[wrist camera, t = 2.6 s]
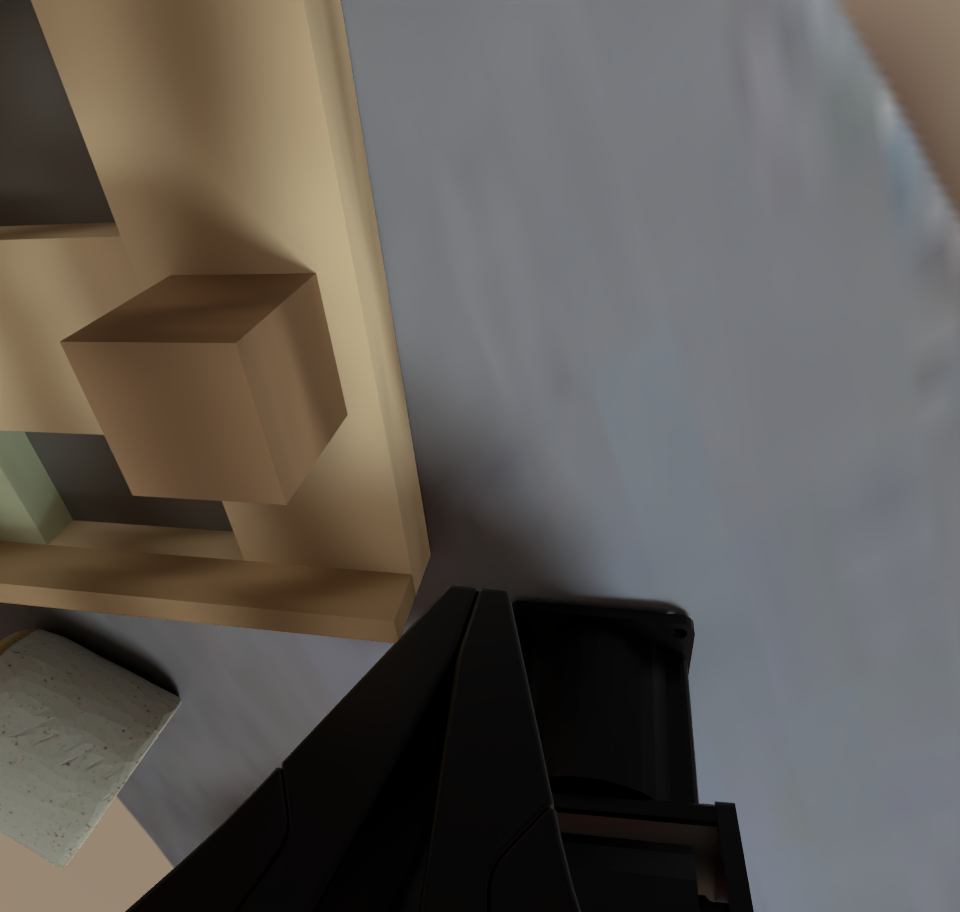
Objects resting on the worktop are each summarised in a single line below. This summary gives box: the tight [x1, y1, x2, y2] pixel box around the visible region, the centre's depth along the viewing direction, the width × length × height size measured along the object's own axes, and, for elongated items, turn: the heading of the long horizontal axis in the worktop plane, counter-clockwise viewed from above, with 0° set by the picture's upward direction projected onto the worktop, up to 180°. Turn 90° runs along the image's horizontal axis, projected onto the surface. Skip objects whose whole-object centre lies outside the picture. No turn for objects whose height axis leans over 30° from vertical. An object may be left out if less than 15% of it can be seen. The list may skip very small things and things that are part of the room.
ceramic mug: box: [0, 628, 181, 867], centre depth 30 cm, size 11×8×8 cm
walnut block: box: [60, 273, 348, 505], centre depth 16 cm, size 4×4×4 cm
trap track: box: [0, 0, 431, 643], centre depth 19 cm, size 20×18×4 cm
